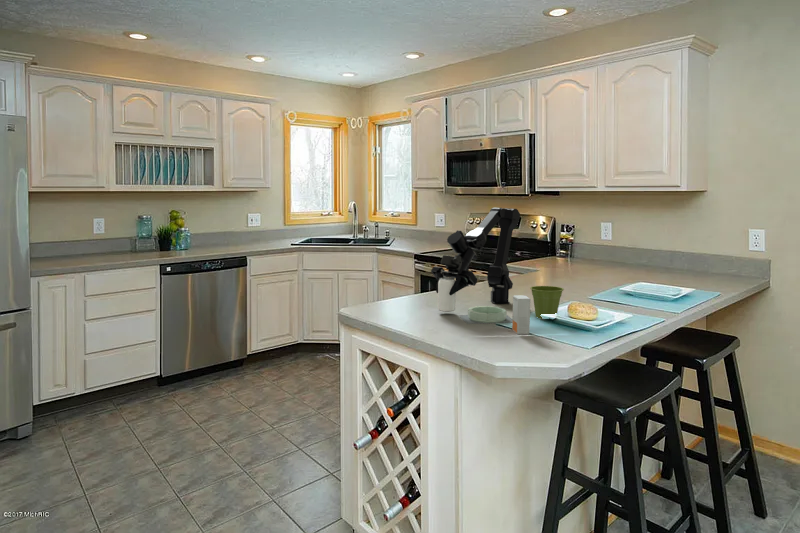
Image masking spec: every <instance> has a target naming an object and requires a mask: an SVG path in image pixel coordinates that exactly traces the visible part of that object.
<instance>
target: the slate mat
mask: <svg viewBox="0 0 800 533" xmlns="http://www.w3.org/2000/svg"><path fill="white" fill-rule="evenodd" d="M458 317H460V319H462V321H463V322H465V323H466V325H477V324H478V325H482V324H484V325H486V324H487V325H488V324H489V325H490V324H491V323H481V322H475V321H472V320H470V319H469V316H468V314H458ZM512 318H513V317H510V316H509V315H507V314H506V320H505V321H503V322H499V323H498V324H512Z"/></svg>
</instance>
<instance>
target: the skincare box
mask: <svg viewBox="0 0 800 533" xmlns="http://www.w3.org/2000/svg"><path fill="white" fill-rule="evenodd" d="M511 318H512V323H511V324H512V325H511V330H512V331H513V332H514V333H515V334H517V335H526V336H527V335H528V336H529V335H530V331H531V330H530V328H531V327H530V324H531V298H530V297H528V296H527V295H525V294H524V295H523V294H520V295H519V294H517V295H513V296H512V317H511Z"/></svg>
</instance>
